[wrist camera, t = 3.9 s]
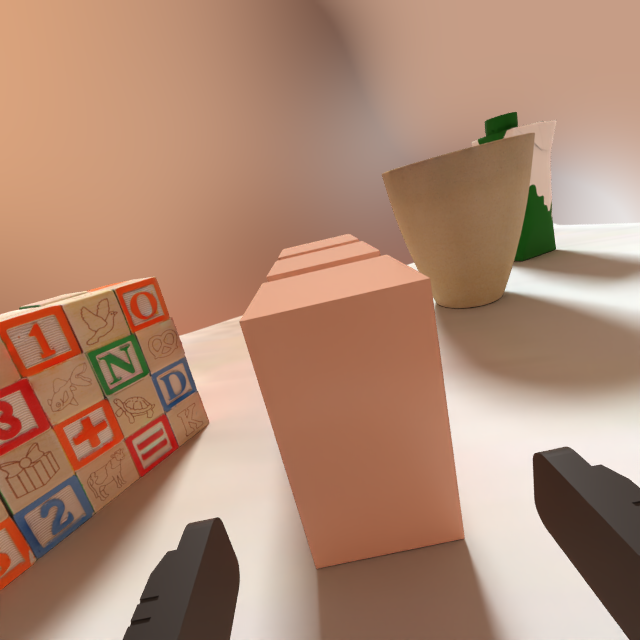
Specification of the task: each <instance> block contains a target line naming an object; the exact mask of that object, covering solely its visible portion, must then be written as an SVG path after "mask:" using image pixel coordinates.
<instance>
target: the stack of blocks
mask: <svg viewBox="0 0 640 640" xmlns="http://www.w3.org/2000/svg"><path fill="white" fill-rule="evenodd" d="M208 424H209V420H208V417H207V414H206V412H205V409H204V406H203V403H202V401H201V398H200V395H199V393H198V391H197V389H196V386H195V382H194V380H193V377H192V374H191V371H190V369H189V366H188V363H187V360H186V357H185V352H184V349H183V347H182V343H181V341H180V338H179V335H178V332H177V329H176V326H175V324H174V321H173V319H172V317H169V313H168V310H167V307H166V304H165V301H164V299H163V296H162V293H161V290H160V288H159V285H158V282H157V279H156V278H155V277H149V278H142V279H135V280H130V281H126V282H120V283H114V284H110V285H106V286H102V287H99V288H95V289H92V290H89V291H84V292H76V293H71V294H65V295H61V296H58V297H54V298H50V299H47V300H44V301H39V302H36V303H32V304H29V305H25V306H22V307H20V308H19V310H15V311H11V312H8V313H5V314H1V315H0V590H2V589H3V588H4V587H5V586H7V585H8V584H9V583H10V582H12V581H13V580H14V579H15V578H17V577H18V576H19V575H20V574H22V573H23V572H24V571H25V570H27V569H28V568H29V567H31V566H32V565H33V564H34V563H35V561H36V560H37V559H38V558H40V557H42V556H43V555H44V554H46V553H47V552H48V551H49V550H51V549H52V548H53V547H54V546H56V545H57V544H58V543H59V542H61V541H62V540H63V539H64V538H66V537H67V536H68V535H69V534H71V533H72V532H73V531H74V530H76V529H77V528H78V527H79V526H81V525H82V524H83V523H84V522H86V521H87V520H88V519H89V518H91V517H92V516H93V515H94V514H95V513H96V512H98V511H99V510H100V509H102V508H103V507H104V506H105V505H107V504H108V503H109V502H110V501H111V500H113V499H114V498H115V497H116V496H118V495H119V494H120V493H121V492H123V491H124V490H125V489H126V488H128V487H129V486H130V485H131V484H133V483H134V482H135V481H136V480H138V479H139V478H140V477H142V476H144V475H145V474H146V473H147V472H149V471H150V470H151V469H152V468H154V467H155V466H156V465H157V464H159V463H160V462H161V461H162V460H164V459H165V458H166V457H167V456H169V455H170V454H171V453H172V452H174V451H175V450H176V449H177V448H178V447H180V446H181V445H183V444H184V443H185V442H186V441H188V440H189V439H190V438H191V437H193V436H194V435H195V434H196V433H198V432H199V431H200V430H201V429H203V428H204V427H205V426H206V425H208Z"/></svg>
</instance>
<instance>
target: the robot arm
mask: <svg viewBox="0 0 640 640" xmlns="http://www.w3.org/2000/svg"><path fill="white" fill-rule="evenodd" d="M533 476H534V499H535V505H536V509H537V511H538V514H539V516H540V518H541V520H542V522H543V524H544V526H545V527H546V529H547V530H548V532H549V533H550V534H551V536H552V537H553V538H554V540H555V541H556V542H557V544H558V545H559V546H560V548H561V549H562V550H563V552H564V553H565V554H566V556H567V557H568V558H569V560H570V561H571V562H572V564H573V565H574V566H575V568H576V569H577V570H578V572H579V573H580V574H581V576H582V577H583V578H584V580H585V581H586V582H587V584H588V585H589V586H590V588H591V589H592V590H593V592H594V593H595V594H596V596H597V597H598V598H599V600H600V601H601V602H602V604H603V605H604V606H605V608H606V609H607V610H608V612H609V613H610V614H611V616H612V617H613V618H614V620H615V621H616V622H617V624H618V625H619V626H620V628H621V629H622V630H623V632H624V633H625V634H626V636H627V637H628V638H629V640H640V488H639V487H638V486H637V485H636V484H634V483H633V482H632V481H631V480H630V479H628V478H626V477H624V476H622V475H620V474H618V473H616V472H614V471H613V470H611V469H609V468H607V467H605V466H603V465H596V466H591V465H590V464H589V463H587V462H586V461H585V460H584V459H583V458H582V457H581V456H580V455H579V454H578V453H576V452H575V451H574V450H573V449H571V448H569V447H562V448H557V449H553V450H548V451H543V452H538V453H535V454H534V456H533ZM239 582H240V574H239V565H238V560H237V557H236V555H235V552H234V550H233V547H232V545H231V542H230V540H229V537H228V535H227V532H226V530H225V527H224V525H223V522H222V520H221V519H220V518H213V519H208V520H203V521H198V522H193V523H189V524H188V525H187V526H186V528H185V530H184V532H183V535H182V537H181V540H180V542H179V545H178V548H177V550H173V551H168V552H167V553H166V555H165V556H164V557H163V558H162V560H161V561H160V562H159V564H158V565H157V566H156V568H155V569H154V570H153V572H152V573H151V575H150V577H149V579H148V582H147V584H146V586H145V589H144V591H143V593H142V596H141V598H140V604H138V605H137V607H136V610H135V612H134V614H133V617H132V619H131V625H130V627H128V628H127V631H126V633H125V635H124V638H123V640H230V636H231V630H232V625H233V619H234V613H235V608H236V602H237V597H238V591H239Z"/></svg>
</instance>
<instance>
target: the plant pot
mask: <svg viewBox="0 0 640 640" xmlns="http://www.w3.org/2000/svg"><path fill="white" fill-rule="evenodd" d="M534 139H535V133H526V134H522V135H517V136H513V137H508V138H504V139H500V140H496V141H493V142H489V143H485V144H481V145H477V146H474V147H470V148H467V149H462V150H459V151H455V152H451V153H448V154H444V155H441V156H437V157H434V158H430V159H427V160H424V161H420V162H416V163H413V164H410V165H406V166H403V167H400V168H396V169H393V170H390V171H388V172H385V173H383V174H382V177H383V180H384V184H385V187H386V190H387V194H388V197H389V200H390V203H391V206H392V209H393V212H394V215H395V218H396V221H397V223H398V226H399V228H400V231H401V233H402V236H403V238H404V240H405V242H406V245H407V247H408V250H409V252H410V254H411V256H412V258H413V260H414V263H415V265H416V267H417V269H418V271H419V272H420V273H422V274H424V275H425V276H427V277H429V278H430V281H431V288H432V296H433V298H434V299H435V301H436V303H437V304H439V305H441V306H443V307H449V308H469V307H476V306H481V305H485V304H489V303H492V302H494V301H496V300H498V299H500V298H501V297H502V296H503V293H504V291H505V288H506V285H507V282H508V279H509V275H510V272H511V269H512V266H513V262H514V259H515V255H516V251H517V247H518V243H519V239H520V235H521V231H522V226H523V221H524V216H525V211H526V205H527V199H528V193H529V186H530V178H531V169H532V159H533V150H534Z"/></svg>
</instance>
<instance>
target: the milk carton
mask: <svg viewBox="0 0 640 640" xmlns="http://www.w3.org/2000/svg"><path fill="white" fill-rule="evenodd" d="M556 121H557V120H553V121H548V122H544V121H541V122H537V123H534V124H529V125H524V126H519V127H518V121H517V112H512V113H508V114H504V115H500V116H497V117H494V118H491V119H489V120H487V121H485V133H486V137H483V138H480V139H478V140H477V141H473V142H472V147H474V146H477V145H481V144H485V143H489V142H493V141H496V140H500V139H504V138H508V137H513V136H517V135H522V134H526V133H535V139H534V150H533V159H532V169H531V178H530V186H529V193H528V199H527V205H526V211H525V216H524V221H523V226H522V231H521V235H520V239H519V243H518V247H517V251H516V255H515V259H514V261H524V260H527V259H530V258H533V257H535V256H538V255H541V254H544V253H547V252H549V251H552V250H555V249H556V245H555V237H554V229H553V221H552V196H551V148H552V142H553V136H554V131H555V126H556Z"/></svg>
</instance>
